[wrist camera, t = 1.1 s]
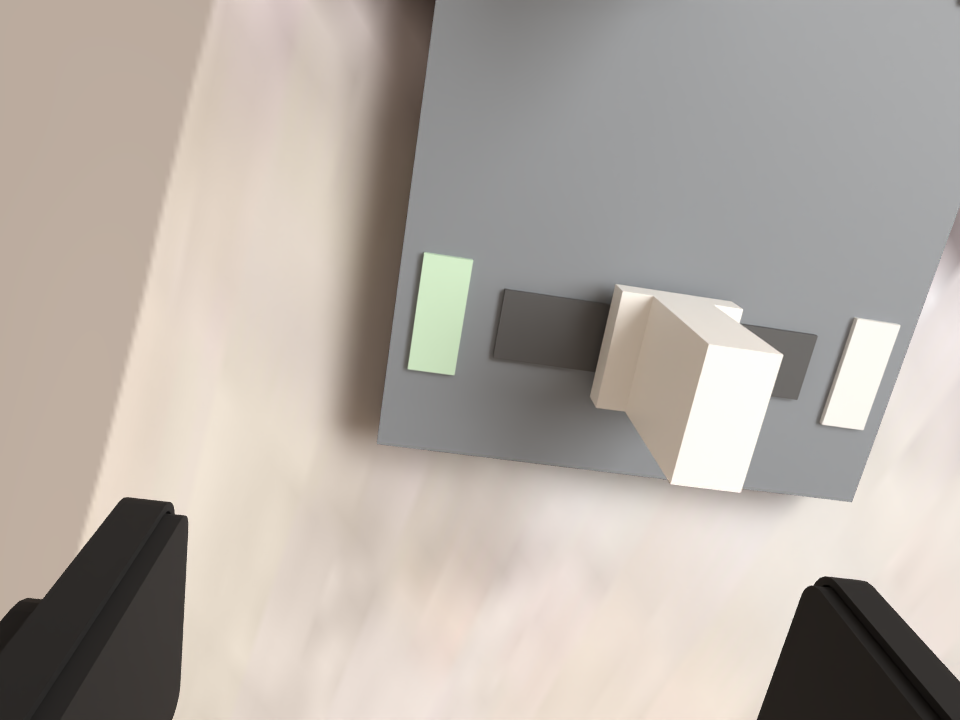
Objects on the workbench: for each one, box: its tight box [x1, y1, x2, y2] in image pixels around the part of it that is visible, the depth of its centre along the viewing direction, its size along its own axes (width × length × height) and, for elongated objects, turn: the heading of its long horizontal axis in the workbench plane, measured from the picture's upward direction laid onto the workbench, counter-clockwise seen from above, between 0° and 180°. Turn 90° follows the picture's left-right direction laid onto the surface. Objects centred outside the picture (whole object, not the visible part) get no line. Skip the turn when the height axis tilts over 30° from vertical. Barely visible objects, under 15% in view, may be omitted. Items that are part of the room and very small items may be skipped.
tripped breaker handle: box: [590, 284, 783, 493], centre depth 22 cm, size 4×4×6 cm
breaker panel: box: [377, 0, 960, 502], centre depth 24 cm, size 24×18×2 cm
